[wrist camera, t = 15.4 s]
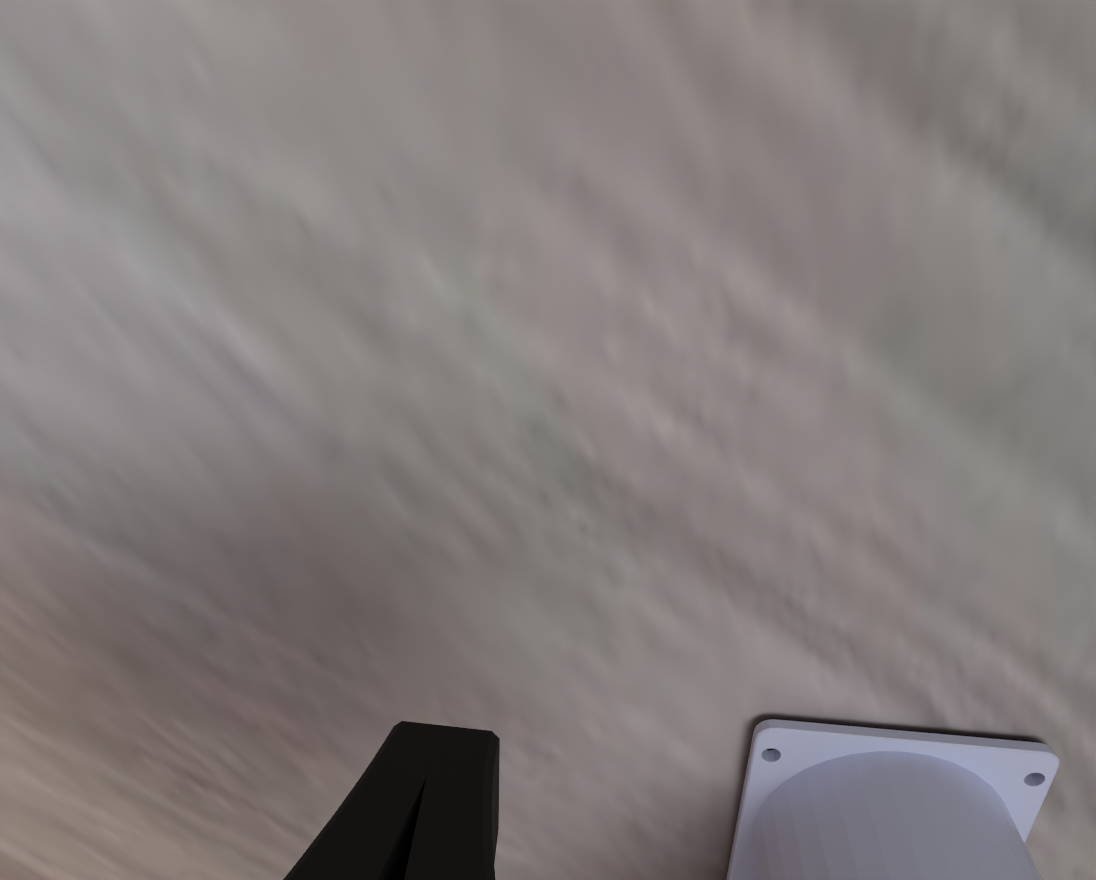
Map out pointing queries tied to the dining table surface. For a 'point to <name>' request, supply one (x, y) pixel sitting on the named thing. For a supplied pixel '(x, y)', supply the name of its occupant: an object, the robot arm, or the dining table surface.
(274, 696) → the dining table surface
